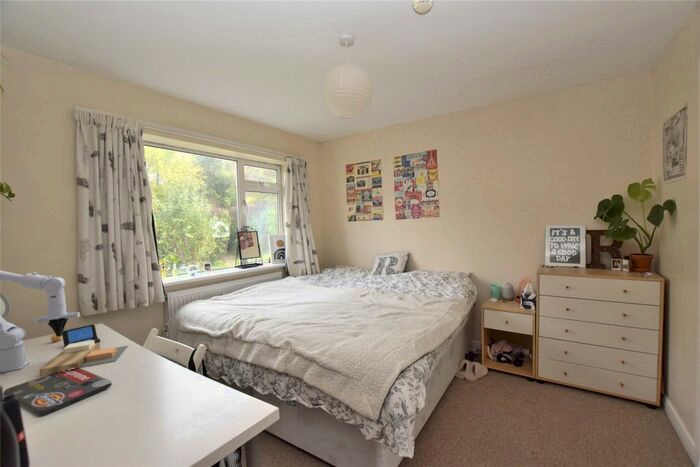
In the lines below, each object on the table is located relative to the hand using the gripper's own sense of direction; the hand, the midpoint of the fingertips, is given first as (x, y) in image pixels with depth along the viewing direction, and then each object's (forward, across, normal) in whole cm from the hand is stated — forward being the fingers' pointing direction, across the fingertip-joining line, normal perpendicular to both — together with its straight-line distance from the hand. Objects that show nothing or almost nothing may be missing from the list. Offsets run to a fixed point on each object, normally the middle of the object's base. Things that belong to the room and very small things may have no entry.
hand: (59, 335), depth 134 cm
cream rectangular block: (+7, +6, +1) cm, 10 cm away
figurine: (+10, -12, +28) cm, 32 cm away
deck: (+10, +6, -6) cm, 13 cm away
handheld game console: (+10, +1, +16) cm, 20 cm away
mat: (+10, +18, -8) cm, 22 cm away
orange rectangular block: (+10, +17, -8) cm, 21 cm away
